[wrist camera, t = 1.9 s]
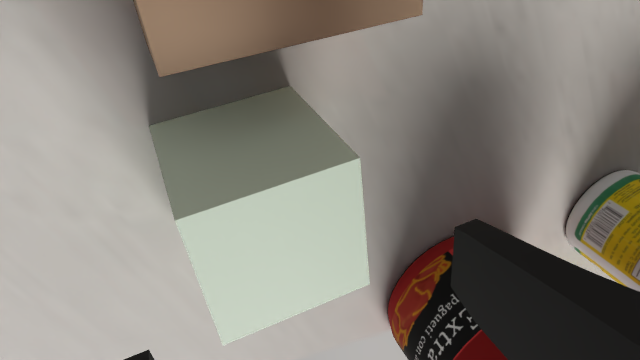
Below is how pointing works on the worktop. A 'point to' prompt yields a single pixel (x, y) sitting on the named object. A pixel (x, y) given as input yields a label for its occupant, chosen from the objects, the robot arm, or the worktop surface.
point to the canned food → (435, 313)
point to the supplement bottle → (610, 226)
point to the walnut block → (252, 26)
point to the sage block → (264, 208)
